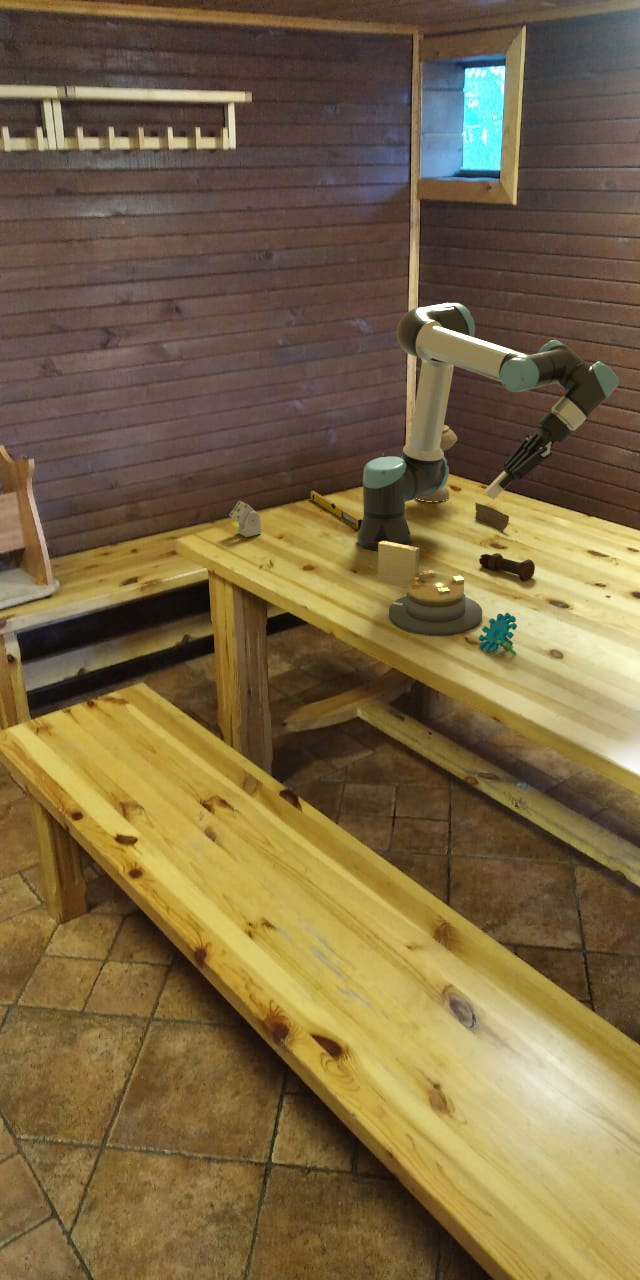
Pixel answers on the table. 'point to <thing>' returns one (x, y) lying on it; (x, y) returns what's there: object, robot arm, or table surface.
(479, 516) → the wood plank
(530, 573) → the bolt
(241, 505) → the mechanical component
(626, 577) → the table surface
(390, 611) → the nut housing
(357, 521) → the spirit level
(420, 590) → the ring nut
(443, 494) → the oil lamp
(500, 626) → the teal spiky piece
